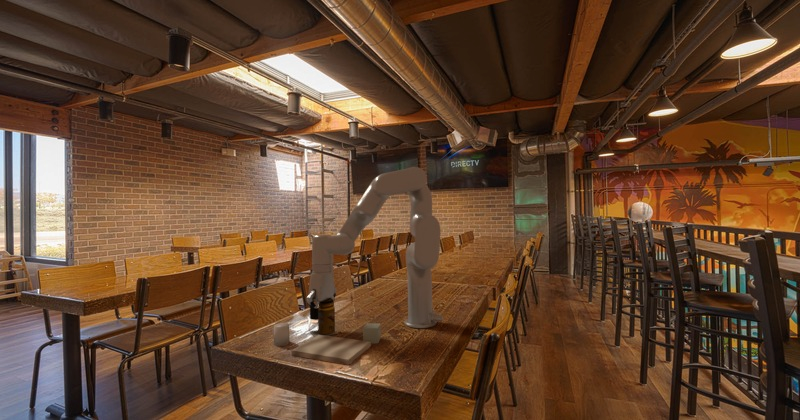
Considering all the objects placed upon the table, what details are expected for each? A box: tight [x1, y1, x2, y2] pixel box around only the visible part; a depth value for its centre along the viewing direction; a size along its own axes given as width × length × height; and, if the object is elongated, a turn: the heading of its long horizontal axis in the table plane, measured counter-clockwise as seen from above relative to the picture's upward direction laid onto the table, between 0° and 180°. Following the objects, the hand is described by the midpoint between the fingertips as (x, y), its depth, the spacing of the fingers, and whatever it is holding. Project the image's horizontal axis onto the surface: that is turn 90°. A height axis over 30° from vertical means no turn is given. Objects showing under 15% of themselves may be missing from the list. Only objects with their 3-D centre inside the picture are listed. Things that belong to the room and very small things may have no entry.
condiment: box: [309, 298, 339, 337], centre depth 122 cm, size 7×8×12 cm
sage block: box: [362, 322, 382, 344], centre depth 113 cm, size 5×5×5 cm
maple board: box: [291, 335, 372, 365], centre depth 105 cm, size 20×14×2 cm
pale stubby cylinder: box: [273, 322, 291, 347], centre depth 112 cm, size 5×5×6 cm
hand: (322, 315), depth 121 cm, fingers open, 9 cm apart
